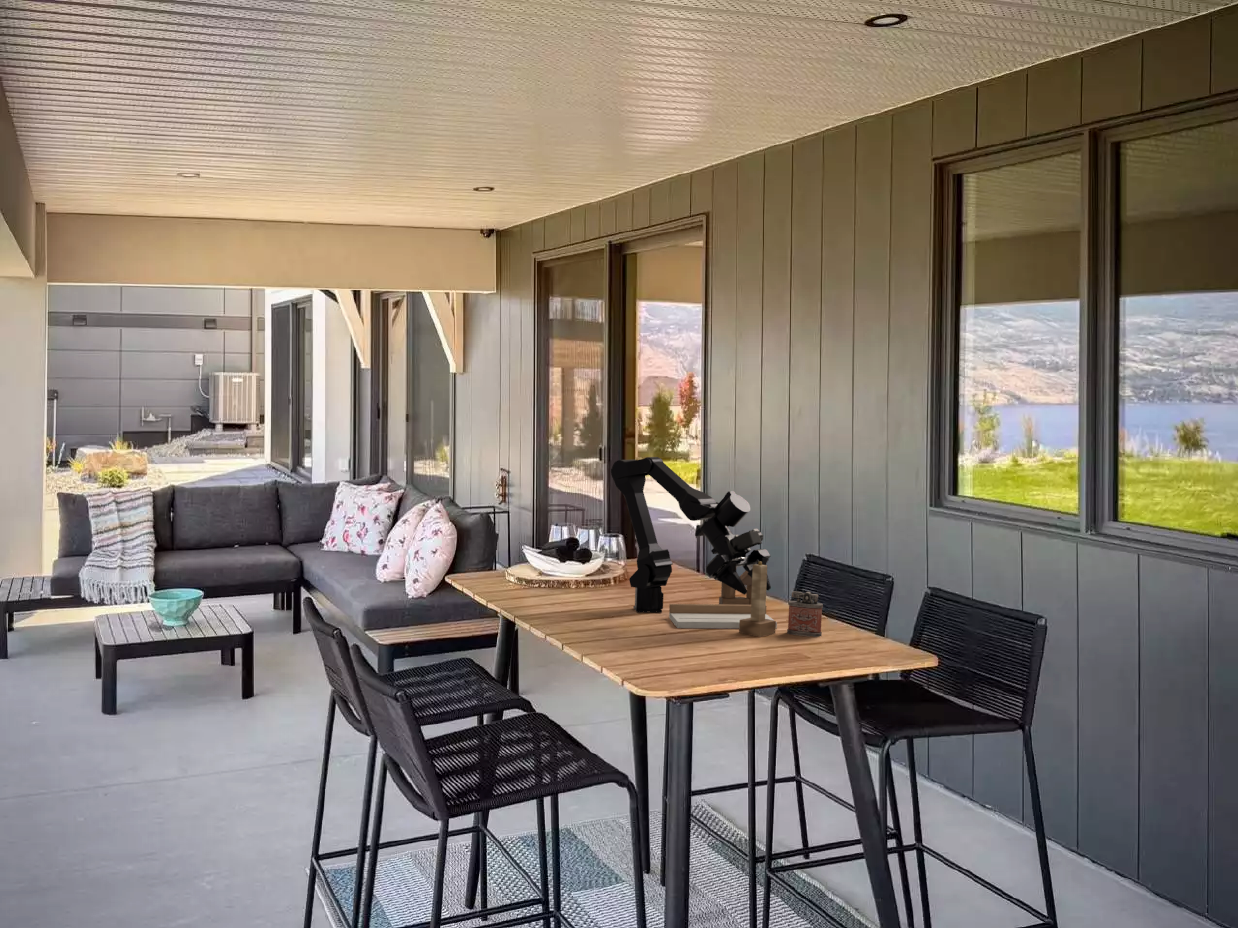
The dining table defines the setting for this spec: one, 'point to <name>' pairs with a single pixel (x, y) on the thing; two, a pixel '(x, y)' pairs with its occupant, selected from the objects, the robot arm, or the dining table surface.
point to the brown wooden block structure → (729, 592)
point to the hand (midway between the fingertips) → (757, 591)
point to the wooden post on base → (758, 606)
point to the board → (709, 615)
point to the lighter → (805, 615)
